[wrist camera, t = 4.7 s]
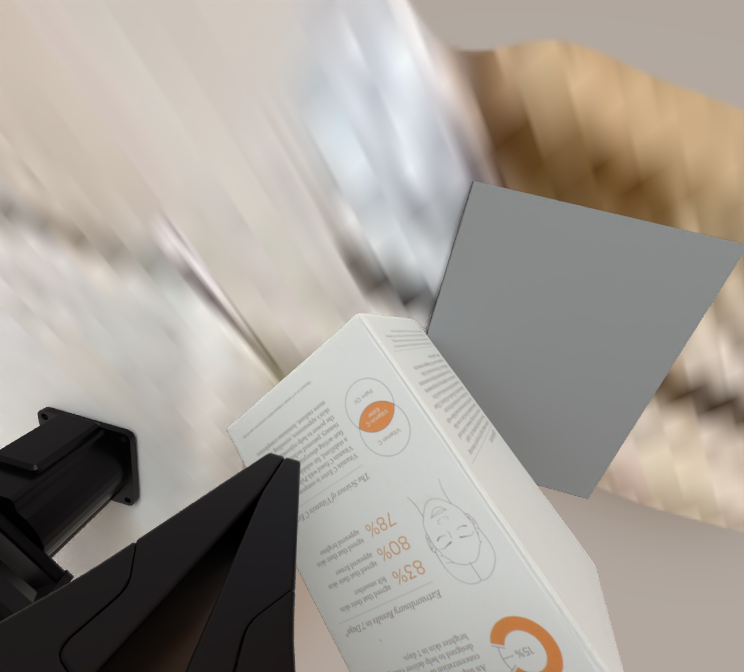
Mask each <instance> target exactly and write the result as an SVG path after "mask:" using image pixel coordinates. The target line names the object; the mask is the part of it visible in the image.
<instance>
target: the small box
mask: <svg viewBox="0 0 744 672" xmlns="http://www.w3.org/2000/svg"><path fill="white" fill-rule="evenodd" d="M227 432H228V434H229V436H230V438H231V440H232V442H233V443H234V445H235V447H236V449H237V452H238V453H239V455H240V457H241V459H242V461H243V463H244V465H245V467H246V468H247V467H248V466H250V465H251V464H253V463H254V462H256V461H257V460H259V459H260V458H262V457H263V456H265V455H266V454H268V453H273V454H277V455H281V456H283V457H284V459H285V458H291V459H295V460H298V461H300V463H301V467H300V490H299V512H298V535H297V557H296V567H297V569H298V571H299V572H300V575H301V577H302V579H303V581H304V583H305V585H306V587H307V588H308V591H309V593H310V595H311V597H312V598H313V600H314V602H315V604H316V606H317V608H318V610H319V612H320V614H321V616H322V618H323V620H324V622H325V624H326V626H327V628H328V630H329V632H330V634H331V636H332V637H333V640H334V641H335V644H336V646H337V648H338V649H339V651H340V653H341V655H342V657H343V659H344V661H345V663H346V665H347V667H348V669H349V671H350V672H624V670H623V667H622V663H621V659H620V656H619V652H618V648H617V645H616V642H615V637H614V633H613V630H612V626H611V622H610V618H609V615H608V611H607V607H606V603H605V600H604V596H603V592H602V589H601V585H600V581H599V577H598V572H597V569H596V566H595V564H594V563H593V562H592V560H591V559H590V557H589V556H588V555H587V553H586V552H585V550H584V549H583V547H582V546H581V545H580V543H579V542H578V541H577V539H576V538H575V536H574V535H573V534H572V532H571V531H570V530H569V528H568V527H567V526H566V524H565V523H564V522H563V520H562V519H561V517H560V516H559V515H558V513H557V512H556V511H555V509H554V508H553V507H552V506H551V504H550V502H549V501H548V500H547V498H546V497H545V496H544V494H543V493H542V492H541V490H540V489H539V488H538V486H537V485H536V483H535V482H534V480H533V479H532V478H531V476H530V475H529V474H528V472H527V471H526V470H525V468H524V467H523V466H522V464H521V463H520V462H519V460H518V459H517V457H516V456H515V455H514V453H513V452H512V451H511V449H510V448H509V446H508V445H507V444H506V442H505V441H504V440H503V438H502V437H501V435H500V434H499V433H498V431H497V430H496V429H495V427H494V426H493V424H492V423H491V422H490V420H489V419H488V418H487V416H486V415H485V414H484V412H483V411H482V409H481V408H480V407H479V405H478V404H477V403H476V401H475V400H474V398H473V397H472V396H471V394H470V393H469V392H468V390H467V389H466V388H465V386H464V385H463V383H462V382H461V381H460V379H459V378H458V377H457V375H456V374H455V373H454V371H453V370H452V369H451V367H450V366H449V365H448V363H447V362H446V361H445V359H444V358H443V357H442V355H441V354H440V352H439V351H438V350H437V348H436V347H435V346H434V344H433V343H432V342H431V340H430V339H429V337H428V336H427V335H426V333H425V332H424V331H423V329H422V328H421V327H420V325H419V324H418V323H417V322H416V321H415V320H413V318H403V317H393V316H385V315H377V314H365V313H358V314H356V315H355V316H354V317H352V318H351V319H350V320H349V321H348V322H347V323H346V324H345V325H344V326H343V327H342V328H341V329H339V330H338V331H337V332H336V333H335V334H334V335H333V336H332V337H330V338H329V339H328V340H327V341H326V342H325V343H324V344H323V345H321V346H320V347H319V348H318V349H317V350H316V351H315V352H314V353H312V354H311V355H310V356H309V357H308V358H307V359H306V360H305V361H303V362H302V363H301V364H300V365H299V366H298V367H297V368H295V369H294V370H293V371H292V372H291V373H290V374H289V375H288V376H286V377H285V378H284V379H283V380H282V381H281V382H280V383H278V384H277V385H276V386H275V387H274V388H273V389H272V390H270V391H269V392H268V393H267V394H266V395H265V396H264V397H262V398H261V399H260V400H259V401H258V402H257V403H256V404H254V405H253V406H252V407H251V408H250V409H249V410H248V411H246V412H245V413H244V414H243V415H242V416H241V417H239V418H238V419H237V420H236V421H235V422H234V423H232V424H231V425H230V426H229V427H228V428H227Z"/></svg>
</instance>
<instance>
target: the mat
mask: <svg viewBox="0 0 744 672" xmlns="http://www.w3.org/2000/svg"><path fill="white" fill-rule="evenodd" d="M743 253H744V244H741V243H737V242H733V241H729V240H724V239H720V238H716V237H711V236H707V235H703V234H699V233H694V232H690V231H686V230H681V229H677V228H673V227H669V226H664V225H660V224H656V223H652V222H647V221H643V220H639V219H634V218H630V217H626V216H622V215H617V214H613V213H609V212H604V211H600V210H596V209H592V208H587V207H583V206H579V205H574V204H570V203H566V202H562V201H557V200H553V199H549V198H545V197H540V196H536V195H532V194H527V193H523V192H519V191H515V190H510V189H506V188H502V187H497V186H493V185H489V184H485V183H480V182H476V181H473V183H472V186H471V189H470V193H469V196H468V199H467V202H466V206H465V209H464V212H463V216H462V219H461V222H460V225H459V229H458V232H457V235H456V239H455V242H454V245H453V248H452V252H451V255H450V258H449V262H448V265H447V268H446V271H445V275H444V278H443V281H442V285H441V288H440V291H439V295H438V298H437V301H436V304H435V308H434V311H433V314H432V318H431V321H430V324H429V327H428V331H427V334H426V335H427V336H428V337H429V339H430V340H431V342H432V343H433V344H434V346H435V347H436V348H437V350H438V351H439V352H440V354H441V355H442V357H443V358H444V359H445V361H446V362H447V363H448V365H449V366H450V367H451V369H452V370H453V371H454V373H455V374H456V375H457V377H458V378H459V379H460V381H461V382H462V383H463V385H464V386H465V388H466V389H467V390H468V392H469V393H470V394H471V396H472V397H473V398H474V400H475V401H476V403H477V404H478V405H479V407H480V408H481V409H482V411H483V412H484V414H485V415H486V416H487V418H488V419H489V420H490V422H491V423H492V424H493V426H494V427H495V429H496V430H497V431H498V433H499V434H500V435H501V437H502V438H503V440H504V441H505V442H506V444H507V445H508V446H509V448H510V449H511V451H512V452H513V453H514V455H515V456H516V457H517V459H518V460H519V462H520V463H521V464H522V466H523V467H524V468H525V470H526V471H527V472H528V474H529V475H530V476H531V478H532V479H533V480H534V482H535V483H536V485H539V486H543V487H546V488H550V489H554V490H557V491H561V492H564V493H568V494H572V495H575V496H579V497H583V498H586V499H588V498H589V497H590V495H591V493H592V492H593V490H594V489H595V487H596V486H597V484H598V482H599V481H600V479H601V478H602V476H603V474H604V473H605V471H606V470H607V468H608V467H609V465H610V463H611V462H612V460H613V459H614V457H615V455H616V454H617V452H618V451H619V449H620V448H621V446H622V444H623V443H624V441H625V440H626V438H627V437H628V435H629V433H630V432H631V430H632V429H633V427H634V425H635V424H636V422H637V421H638V419H639V418H640V416H641V414H642V413H643V411H644V410H645V408H646V406H647V405H648V403H649V402H650V400H651V399H652V397H653V395H654V394H655V392H656V391H657V389H658V387H659V386H660V384H661V383H662V381H663V380H664V378H665V376H666V375H667V373H668V372H669V370H670V368H671V367H672V365H673V364H674V362H675V361H676V359H677V357H678V356H679V354H680V353H681V351H682V350H683V348H684V346H685V345H686V343H687V342H688V340H689V338H690V337H691V335H692V334H693V332H694V331H695V329H696V327H697V326H698V324H699V323H700V321H701V319H702V318H703V316H704V315H705V313H706V312H707V310H708V308H709V307H710V305H711V304H712V302H713V300H714V299H715V297H716V296H717V294H718V293H719V291H720V289H721V288H722V286H723V285H724V283H725V281H726V280H727V278H728V277H729V275H730V274H731V272H732V270H733V269H734V267H735V266H736V264H737V263H738V261H739V259H740V258H741V256H742V255H743Z"/></svg>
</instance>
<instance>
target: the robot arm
mask: <svg viewBox="0 0 744 672" xmlns="http://www.w3.org/2000/svg"><path fill="white" fill-rule="evenodd" d="M38 419H39V424H40V426H39V427H37V428H35V429H34V430H32V431H30V432H29V433H27V434H25V435H24V436H22V437H20V438H19V439H17V440H15V441H14V442H12V443H10V444H9V445H7V446H5V447H4V448H2V449H0V672H295V654H294V606H295V592H294V591H295V579H296V557H297V535H298V512H299V490H300V467H301V463H300V461H298V460H295V459H291V458H285V459H284V457H283V456H281V455H277V454H273V453H268V454H266V455H265V456H263V457H262V458H260V459H259V460H257V461H256V462H254V463H253V464H251V465H250V466H248V467H247V468H245V469H244V470H242V471H240V472H239V473H237V474H236V475H234V476H233V477H231V478H230V479H228V480H227V481H225V482H224V483H222V484H221V485H219V486H218V487H216V488H215V489H213V490H212V491H210V492H209V493H207V494H206V495H204V496H203V497H201V498H200V499H198V500H197V501H195V502H194V503H192V504H191V505H189V506H188V507H186V508H185V509H183V510H182V511H180V512H179V513H177V514H176V515H174V516H173V517H171V518H170V519H168V520H167V521H165V522H164V523H162V524H160V525H159V526H157V527H156V528H154V529H153V530H151V531H150V532H148V533H147V534H145V535H144V536H142V537H141V538H139V539H138V540H137V542H136V543H134V542H133V543H132V544H130V545H129V546H127V547H126V548H124V549H122V550H121V551H119V552H118V553H116V554H115V555H113V556H112V557H110V558H109V559H107V560H105V561H104V562H102V563H101V564H99V565H98V566H96V567H94V568H93V569H91V570H90V571H88V572H87V573H85V574H83V575H82V576H80V577H78V578H76V579H75V580H73V581H71V580H72V579H73V577H74V576H73V575H72V574H71V573H70V572H69V571H68V570H65V571H64V570H63V569H62V568H61V567H60V566H59V565H58V564H57V563H56V562H55V561H54V560H53V559H52V557H53V556H54V555H55V554H56V553H57V552H59V551H60V550H61V549H62V548H63V547H64V546H65V545H66V544H67V543H68V542H69V541H70V540H71V539H72V538H73V537H74V536H75V535H76V534H77V533H78V532H79V531H80V530H81V529H82V528H83V527H84V526H85V525H86V524H87V523H89V522H90V521H91V520H92V519H93V518H94V517H95V516H96V515H97V514H98V513H99V512H100V511H101V510H102V509H103V508H104V507H105V506H106V505H107V504H108V503H109V502H110V501H111V500H113V501H116V502H119V503H123V504H126V505H133V504H134V503H135V502H136V501H137V500H138V498H139V495H138V480H137V465H136V449H135V437H134V434H133V433H132V432H131V431H129V430H127V429H124V428H120V427H117V426H113V425H110V424H106V423H103V422H99V421H96V420H92V419H89V418H85V417H82V416H78V415H75V414H71V413H68V412H64V411H61V410H57V409H54V408H50V407H46V408H44V409H42V410H40V411H39V412H38ZM70 581H71V582H70Z"/></svg>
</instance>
